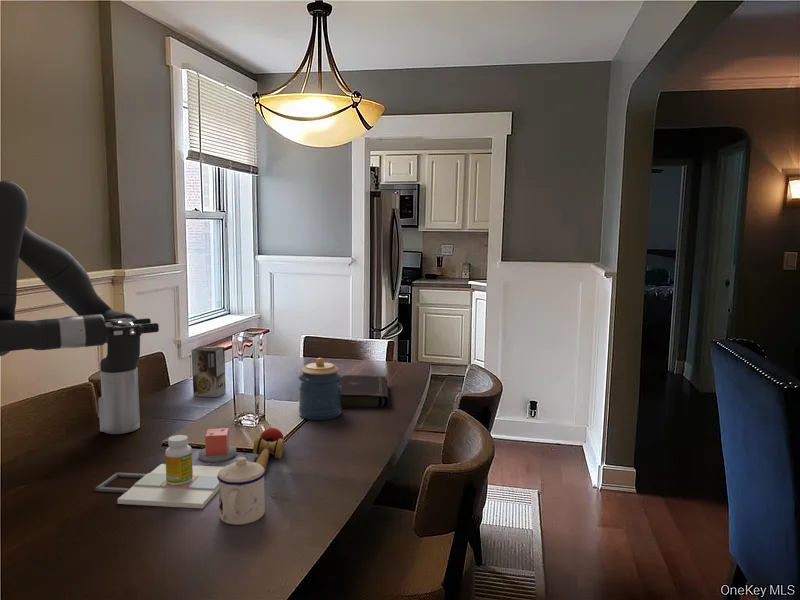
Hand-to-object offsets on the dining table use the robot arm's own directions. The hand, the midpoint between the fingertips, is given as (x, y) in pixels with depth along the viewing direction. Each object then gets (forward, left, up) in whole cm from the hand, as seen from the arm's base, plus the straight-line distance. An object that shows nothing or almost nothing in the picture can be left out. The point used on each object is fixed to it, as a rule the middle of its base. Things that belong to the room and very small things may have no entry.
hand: (154, 324), depth 145 cm
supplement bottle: (+16, -22, -31) cm, 41 cm away
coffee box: (-7, +47, -32) cm, 58 cm away
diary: (+45, +51, -33) cm, 75 cm away
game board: (+12, -22, -32) cm, 41 cm away
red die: (+17, -4, -32) cm, 36 cm away
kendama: (+30, -5, -32) cm, 45 cm away
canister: (+35, +31, -32) cm, 57 cm away
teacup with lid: (+34, -34, -32) cm, 58 cm away
